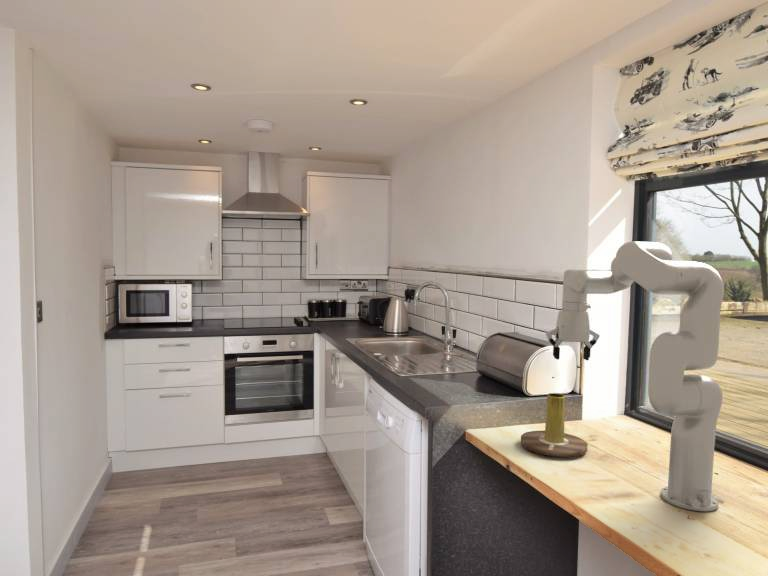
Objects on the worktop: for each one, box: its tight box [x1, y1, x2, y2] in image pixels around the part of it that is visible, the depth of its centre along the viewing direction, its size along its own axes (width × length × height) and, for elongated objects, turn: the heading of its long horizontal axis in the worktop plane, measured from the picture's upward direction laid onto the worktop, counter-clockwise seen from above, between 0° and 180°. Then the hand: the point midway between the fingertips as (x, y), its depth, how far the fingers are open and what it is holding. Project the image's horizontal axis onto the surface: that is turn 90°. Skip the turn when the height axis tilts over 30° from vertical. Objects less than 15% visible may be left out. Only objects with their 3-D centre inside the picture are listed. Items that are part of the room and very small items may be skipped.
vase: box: [544, 392, 566, 443], centre depth 173 cm, size 6×6×14 cm
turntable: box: [520, 430, 589, 458], centre depth 175 cm, size 23×20×8 cm
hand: (571, 359), depth 183 cm, fingers open, 9 cm apart
